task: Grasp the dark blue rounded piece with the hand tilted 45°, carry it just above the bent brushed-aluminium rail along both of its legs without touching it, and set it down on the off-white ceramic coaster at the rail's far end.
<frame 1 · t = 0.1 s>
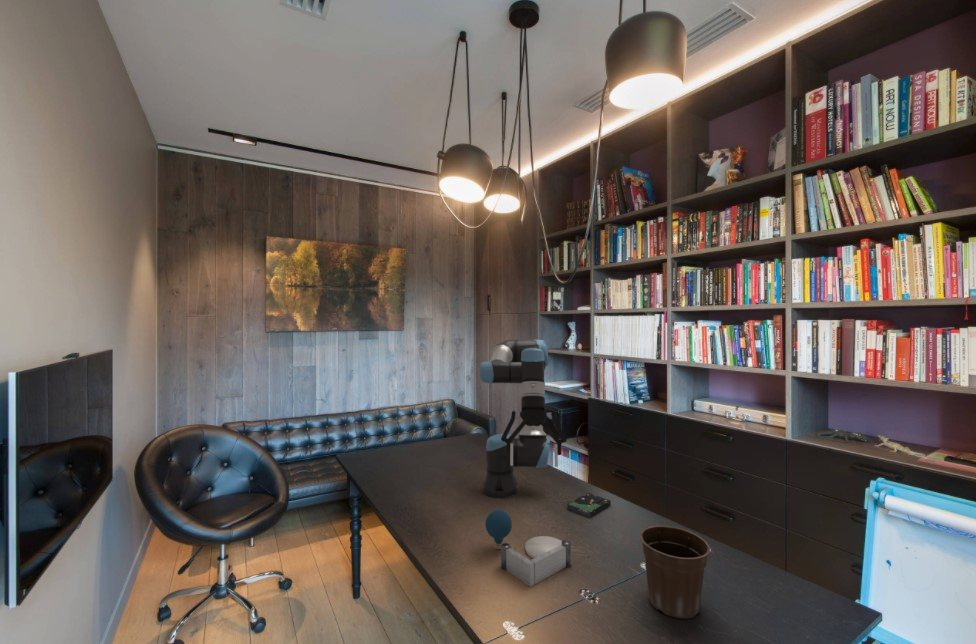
hand: (533, 466, 129), 28 cm above the table, tool tilted 20°, fingers open, 13 cm apart
plant pot: (674, 603, 108), on the table
disk drive: (589, 509, 163), on the table
dark blue rounded piece: (498, 549, 134), on the table
coaster: (545, 549, 133), on the table
bent rail: (534, 566, 124), on the table
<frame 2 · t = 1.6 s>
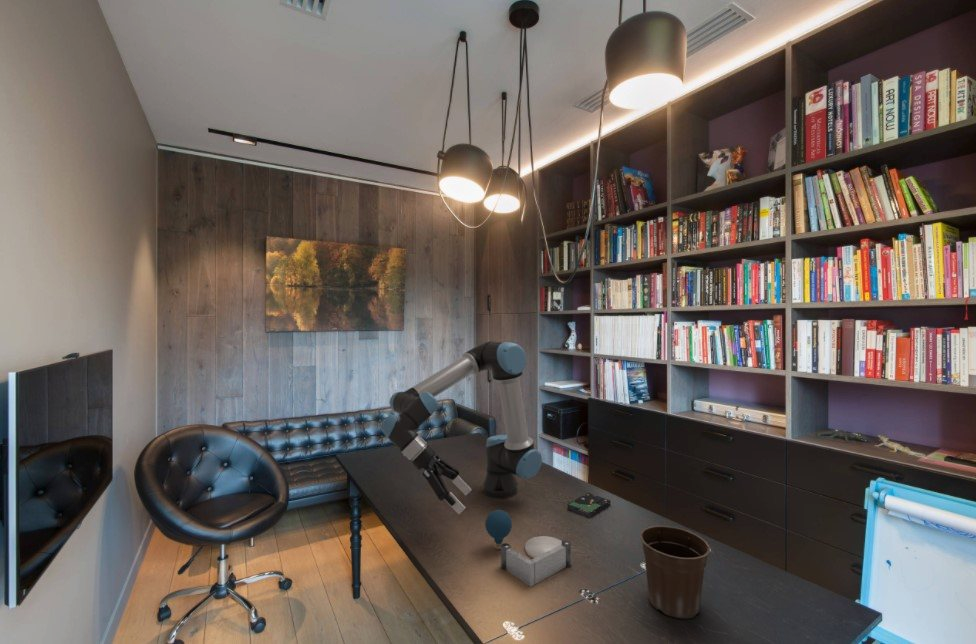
hand: (465, 501, 135), 15 cm above the table, tool tilted 45°, fingers open, 13 cm apart
nothing on the table moved.
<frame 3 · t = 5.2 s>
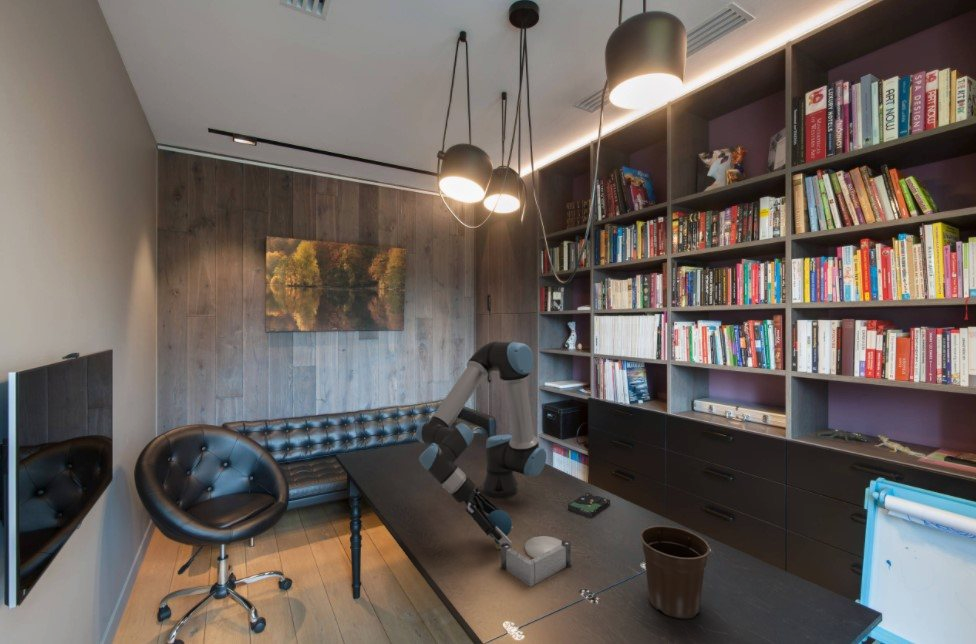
hand: (509, 537, 134), 4 cm above the table, tool tilted 45°, fingers closed on dark blue rounded piece, 8 cm apart
dark blue rounded piece: (498, 549, 134), on the table, touching gripper
everything else where it was.
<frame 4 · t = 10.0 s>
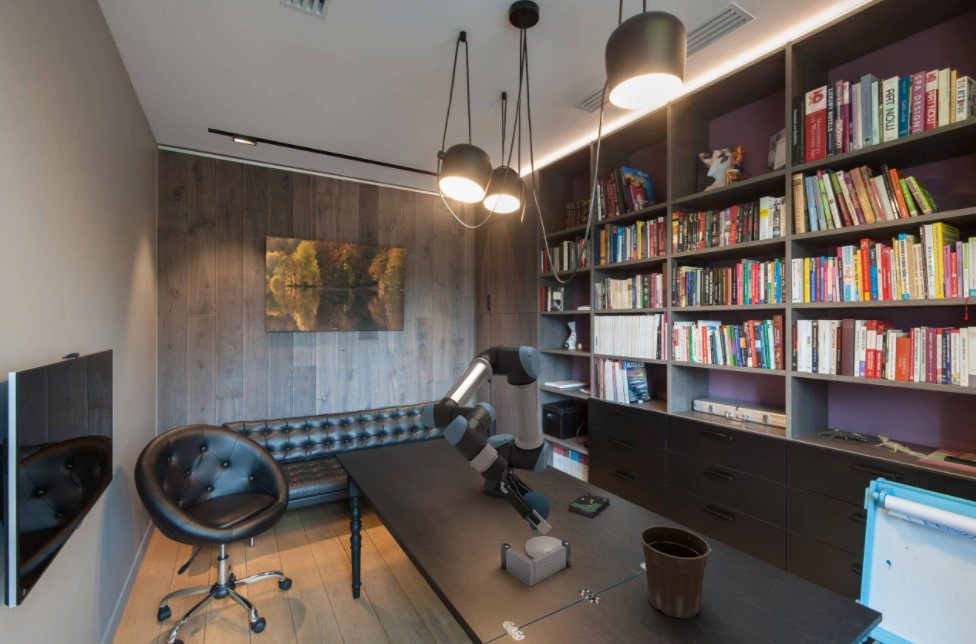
hand: (547, 522, 117), 16 cm above the table, tool tilted 45°, fingers closed on dark blue rounded piece, 8 cm apart
dark blue rounded piece: (534, 536, 117), point 13 cm above the table, touching gripper
everything else where it was.
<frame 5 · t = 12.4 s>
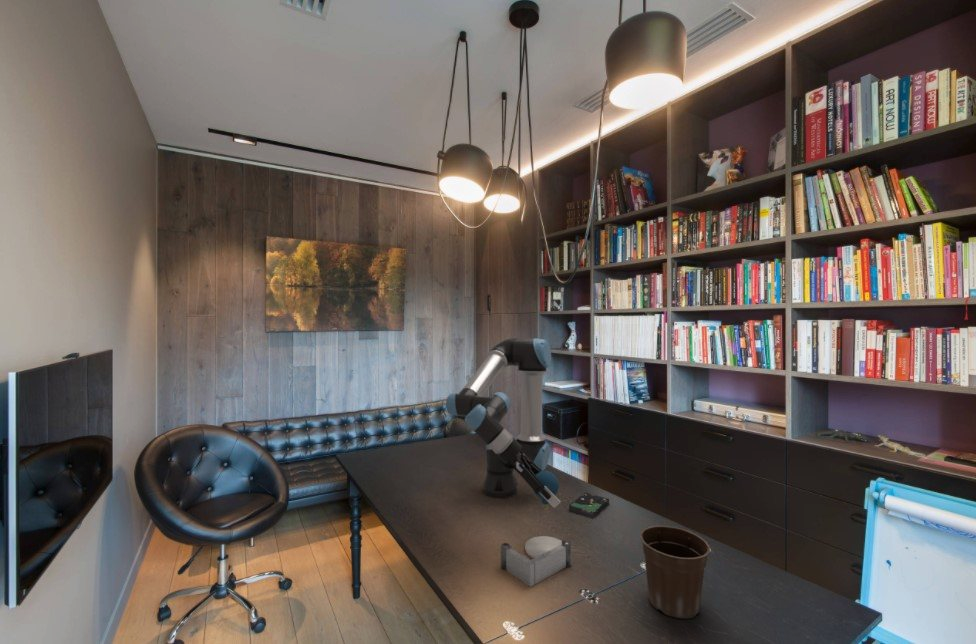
hand: (556, 498, 133), 16 cm above the table, tool tilted 45°, fingers closed on dark blue rounded piece, 8 cm apart
dark blue rounded piece: (545, 510, 133), point 13 cm above the table, touching gripper
everything else where it was.
when the fingers open (6 cm above the table, at t = 14.7 s): dark blue rounded piece drops 1 cm, resting on coaster.
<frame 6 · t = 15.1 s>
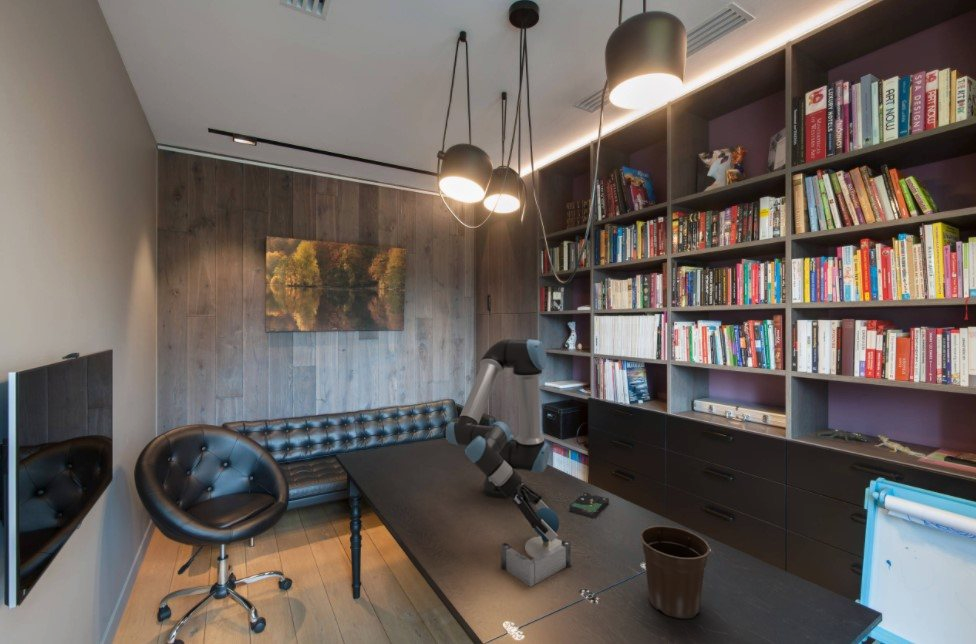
hand: (553, 527, 133), 7 cm above the table, tool tilted 45°, fingers open, 13 cm apart
dark blue rounded piece: (545, 547, 133), point 1 cm above the table, touching coaster
everything else where it was.
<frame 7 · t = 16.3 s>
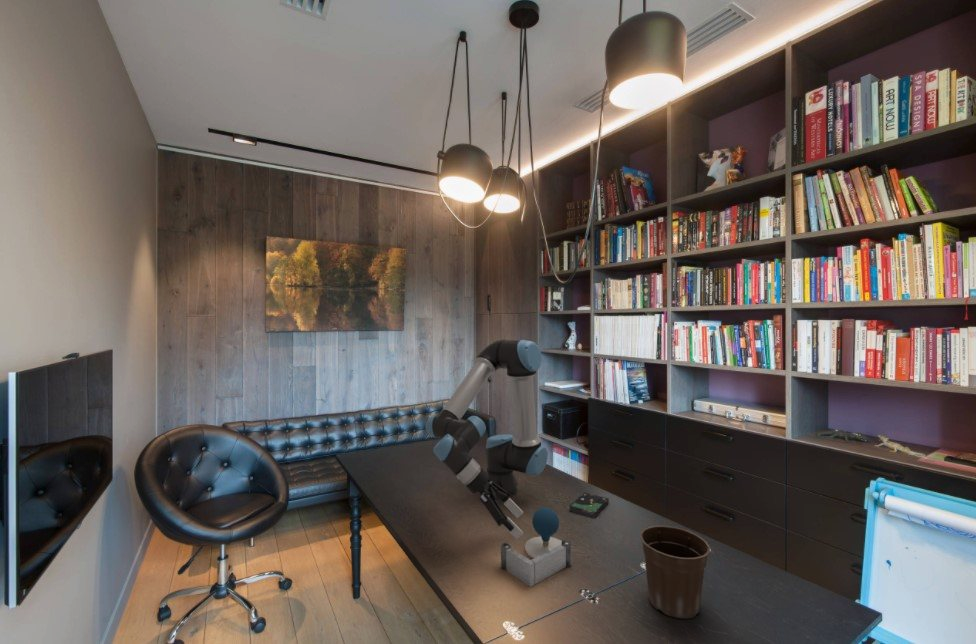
hand: (520, 525, 134), 7 cm above the table, tool tilted 45°, fingers open, 13 cm apart
nothing on the table moved.
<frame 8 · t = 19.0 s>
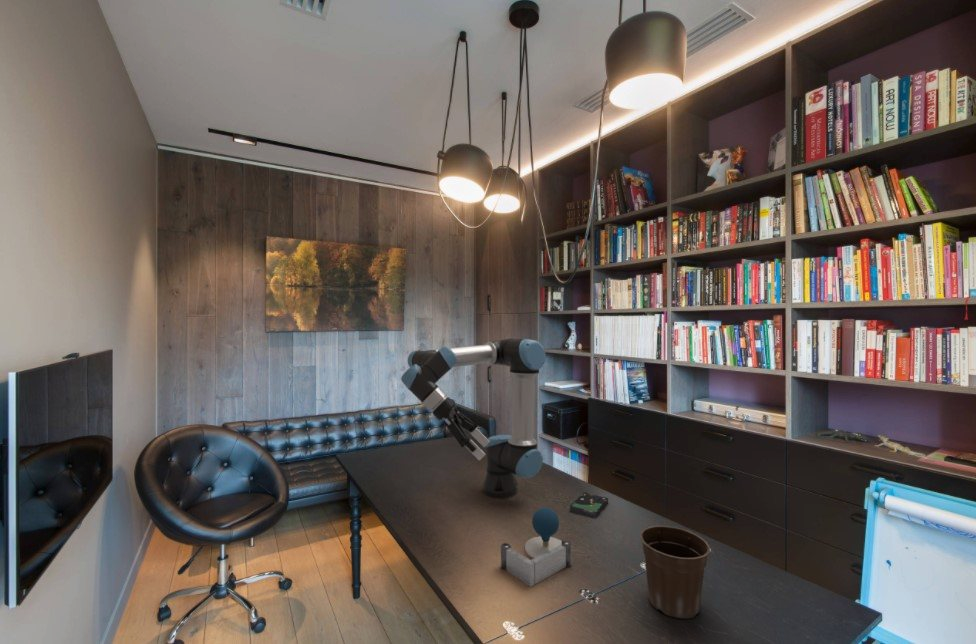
hand: (484, 450, 139), 30 cm above the table, tool tilted 45°, fingers open, 13 cm apart
nothing on the table moved.
at the end: dark blue rounded piece inside the target area on the coaster (0.1 cm from its centre), point 0.8 cm above the coaster's base; dark blue rounded piece touching coaster; the gripper is holding nothing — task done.
